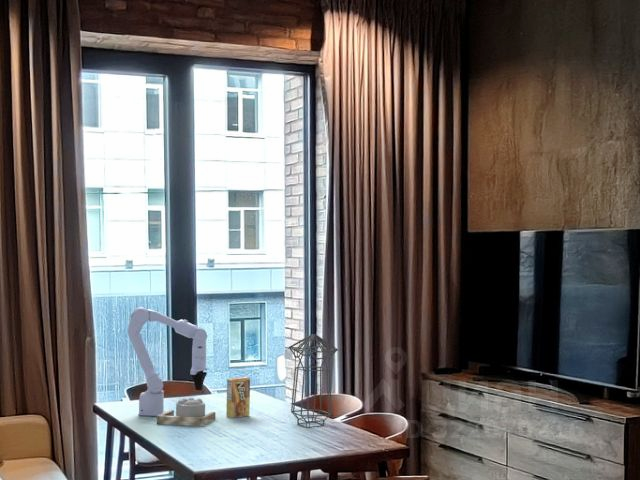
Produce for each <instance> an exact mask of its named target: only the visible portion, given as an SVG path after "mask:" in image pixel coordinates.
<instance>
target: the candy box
mask: <svg viewBox="0 0 640 480" xmlns="http://www.w3.org/2000/svg"><path fill="white" fill-rule="evenodd" d="M250 392H251V378H250V377H245V376H243V377H235V378H234V377H233V378H227V379H226V412H225V413H226V417H227V418H229V419H230V418H231V419H234V418H235V419H236V418H241V417H242V418H243V417H248V416H250V403H251V402H250V401H251V400H250V397H251V395H250V394H251V393H250Z"/></svg>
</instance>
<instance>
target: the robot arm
mask: <svg viewBox="0 0 640 480" xmlns="http://www.w3.org/2000/svg"><path fill="white" fill-rule="evenodd" d="M148 321H149V322H150V323H151V322H158V323H161V324H163V325H166V326H169V327H170V328H173V329H174V331H175V333H176V334H179V335H181V336H184V337H186V338H188V339H192V346H191V347H192V349H191V369H190V370H189V371H190V373H189V374H190V375H191V378H192V381H193V383H194V386H195V387H194V388H195V390H196V391H202V390H203V386H204V382H205V378H206V377H207V375H208V372H207V371H208V370H209V369H210V368H209V367H208V365H207V339H208V334H207V333H208V332H207V331H206V330H205V329H204V328H202V327H201V326H199V325H198V324H192V323H191V322H189V321H188V320H187V319H185V318H184V319H179V320H175V319H174V318H171V317H169V316H167V315H165V314H162V313H161V312H159V311H157V310H153V309H150V308H147V309H146V308H145V307H143V306H138V307H136V308H134V310H133V311H132V313H131V314H130V317H129V322H128V327H127V334H128V338H129V340H130V342H131V344H132V347H133V349H134V352H135V354H136V358H137V360H138V362H139V364H140V366H141V368H142V371H143V373H144V376H145V378H146V386H147V390H145V391H143V392H141V393H140V395H139V396H138V397H139V399H138V416H148V417H157V416H158V415H160V414H162V413H165V412H166V411H164V406H165V405H164V401H165V400H164V398H165V397H164V395H165V394H164V393H165V390H163V388H164V381H163V379H162V377H161V376H160V375H158V373H157V371H156V368H155V367H154V364H153V361H152V359H151V357H150V354H149V352H148V349H147V348H146V344H145V342H144V340H143V338H142V335H141V331H142V329H143V327H144V325H145V324H146V323H147V322H148Z"/></svg>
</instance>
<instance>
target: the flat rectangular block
mask: <svg viewBox="0 0 640 480" xmlns="http://www.w3.org/2000/svg"><path fill="white" fill-rule="evenodd" d="M164 412H165V413H162V414H160V415H158V416H156V424H157V425H170V426H171V425H175V426H189V427H191V426H194V427H205V426H207V425H209V424H210V423H212V422H214V421H216V412H215V411H211V412H209V413H207V414H205V416H203V417H182V416H176V415H175V409H169V410H167V411H164Z"/></svg>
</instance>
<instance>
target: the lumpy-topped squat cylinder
mask: <svg viewBox="0 0 640 480" xmlns="http://www.w3.org/2000/svg"><path fill="white" fill-rule="evenodd" d="M205 415H206V403H205V402H203V400H202V398H197V399H194V397H189V398H188V399H187V398H185V397H183V398H182V399H179V400H178V401H177V402H176V404H175V416H182V417H203V416H205Z"/></svg>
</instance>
